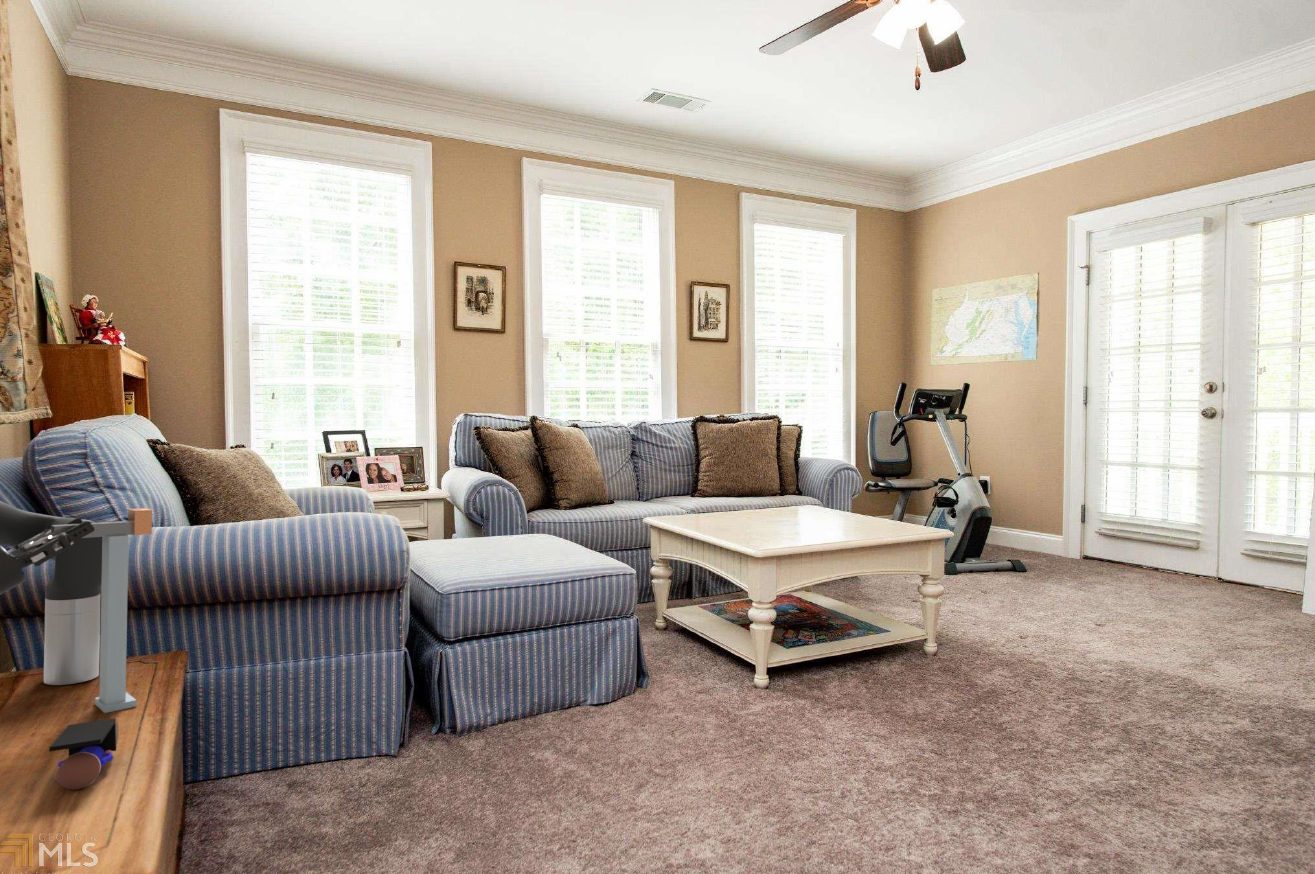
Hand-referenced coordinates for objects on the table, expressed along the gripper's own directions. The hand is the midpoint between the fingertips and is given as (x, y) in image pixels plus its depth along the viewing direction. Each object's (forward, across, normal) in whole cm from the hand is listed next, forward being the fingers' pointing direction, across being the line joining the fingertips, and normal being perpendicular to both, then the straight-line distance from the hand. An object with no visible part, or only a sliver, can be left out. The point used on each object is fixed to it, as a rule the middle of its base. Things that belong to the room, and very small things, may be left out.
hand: (86, 523), depth 144 cm
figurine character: (-23, -32, +27) cm, 48 cm away
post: (-13, 0, +32) cm, 35 cm away
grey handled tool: (+1, 0, +3) cm, 3 cm away
